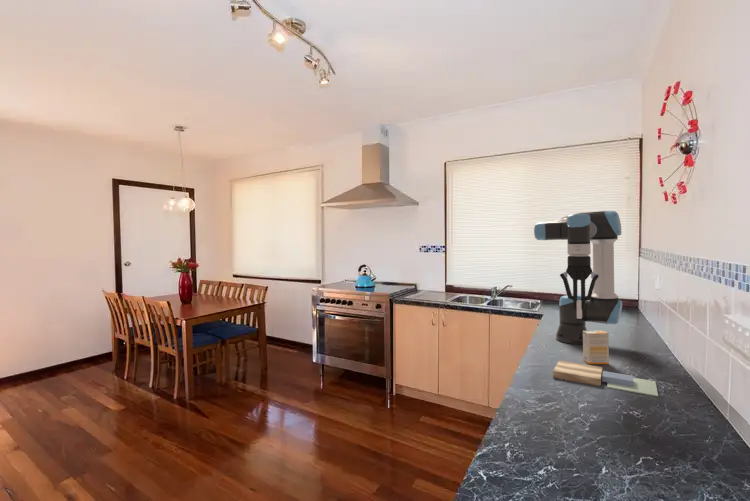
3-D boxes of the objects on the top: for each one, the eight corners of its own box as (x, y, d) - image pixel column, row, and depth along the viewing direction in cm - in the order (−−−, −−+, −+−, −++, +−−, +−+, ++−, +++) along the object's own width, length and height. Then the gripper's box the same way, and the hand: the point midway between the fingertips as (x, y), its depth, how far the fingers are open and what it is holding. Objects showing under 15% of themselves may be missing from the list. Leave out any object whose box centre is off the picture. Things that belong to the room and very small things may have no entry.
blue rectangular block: (602, 381, 129) (602, 376, 129) (603, 376, 134) (603, 370, 133) (633, 386, 123) (633, 381, 123) (632, 381, 128) (632, 375, 128)
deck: (558, 366, 146) (558, 360, 146) (602, 373, 137) (602, 367, 137) (553, 377, 134) (553, 371, 134) (600, 386, 126) (600, 379, 126)
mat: (608, 374, 136) (608, 373, 136) (655, 382, 128) (655, 381, 128) (607, 387, 125) (607, 386, 125) (658, 396, 116) (658, 395, 116)
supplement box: (603, 360, 151) (602, 330, 151) (609, 364, 147) (609, 333, 146) (582, 360, 152) (582, 330, 152) (588, 364, 147) (587, 332, 147)
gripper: (558, 255, 135) (558, 318, 136) (598, 256, 127) (599, 321, 128) (560, 254, 141) (561, 314, 142) (599, 255, 134) (600, 317, 134)
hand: (579, 317), depth 135 cm, fingers closed
